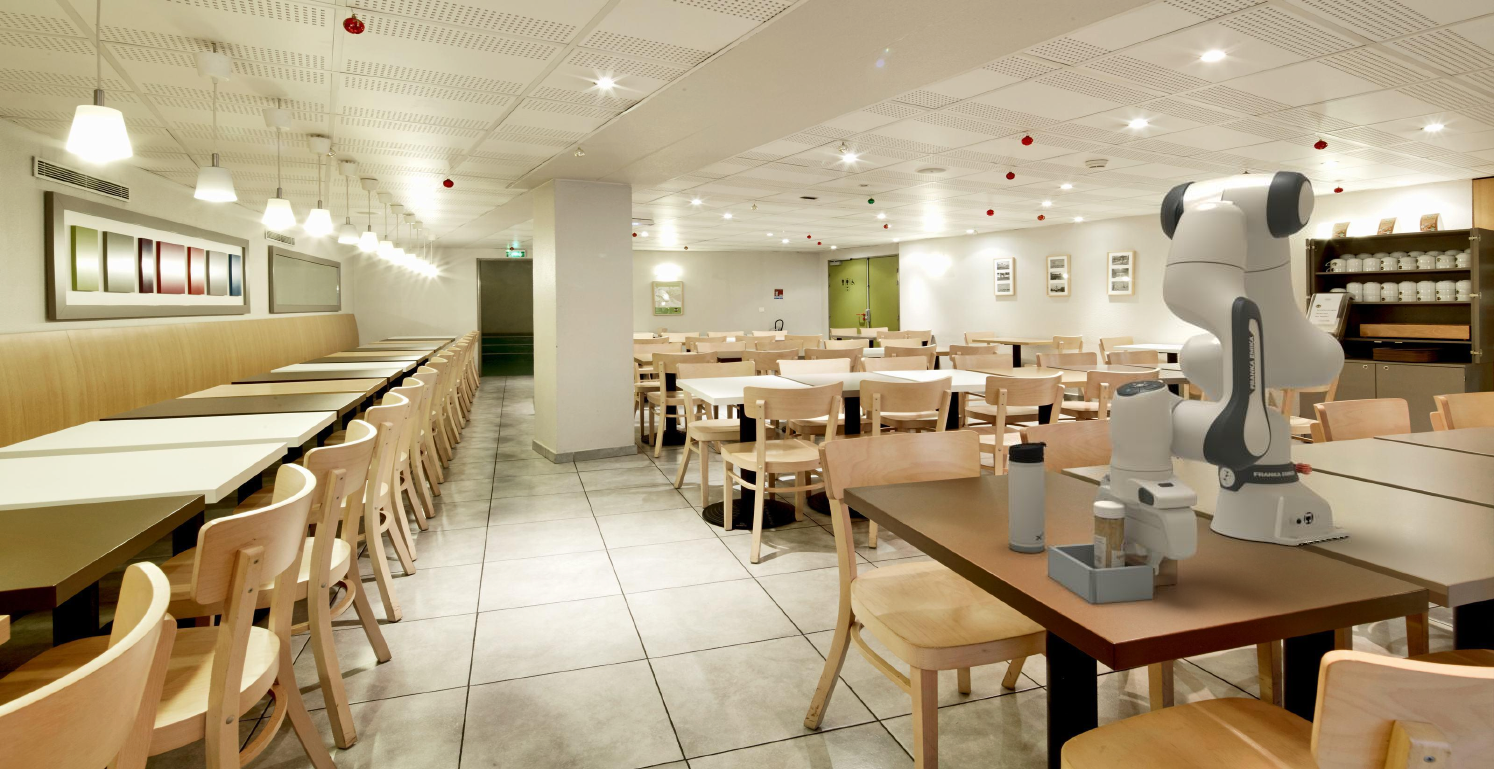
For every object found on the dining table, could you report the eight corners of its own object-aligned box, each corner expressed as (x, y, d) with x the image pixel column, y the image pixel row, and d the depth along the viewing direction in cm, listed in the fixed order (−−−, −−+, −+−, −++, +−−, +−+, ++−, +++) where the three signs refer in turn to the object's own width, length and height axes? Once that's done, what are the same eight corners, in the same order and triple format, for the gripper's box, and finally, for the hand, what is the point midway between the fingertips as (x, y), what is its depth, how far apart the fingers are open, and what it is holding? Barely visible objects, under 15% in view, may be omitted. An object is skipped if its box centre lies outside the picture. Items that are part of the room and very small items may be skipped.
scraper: (1152, 571, 123) (1152, 547, 123) (1191, 590, 114) (1191, 565, 114) (1105, 575, 122) (1105, 552, 122) (1140, 595, 113) (1140, 569, 113)
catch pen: (1103, 571, 124) (1103, 542, 124) (1152, 598, 112) (1153, 566, 111) (1047, 575, 123) (1047, 546, 123) (1091, 603, 111) (1091, 571, 110)
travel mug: (1049, 553, 134) (1049, 445, 133) (1011, 552, 136) (1010, 445, 134) (1043, 543, 140) (1042, 439, 139) (1006, 542, 142) (1005, 439, 140)
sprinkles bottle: (1127, 592, 115) (1128, 507, 113) (1095, 590, 116) (1095, 506, 115) (1122, 582, 119) (1122, 500, 118) (1091, 580, 120) (1091, 499, 119)
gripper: (1084, 472, 127) (1085, 551, 128) (1165, 500, 106) (1165, 593, 107) (1119, 470, 127) (1119, 548, 128) (1205, 497, 107) (1205, 589, 108)
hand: (1141, 569), depth 118 cm, fingers closed on scraper, 3 cm apart
